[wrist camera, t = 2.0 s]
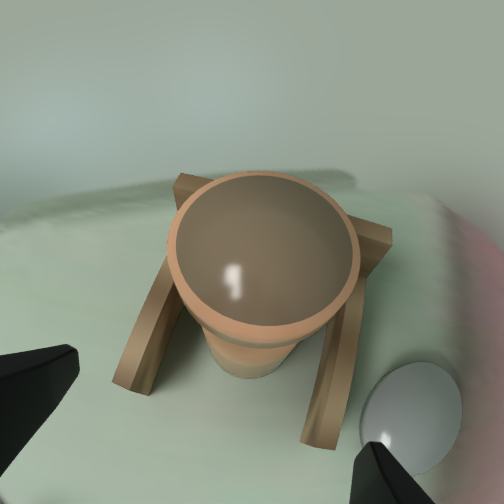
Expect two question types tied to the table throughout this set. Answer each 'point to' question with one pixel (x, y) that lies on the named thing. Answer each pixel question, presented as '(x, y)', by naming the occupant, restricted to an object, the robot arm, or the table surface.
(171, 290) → the wooden cradle holder
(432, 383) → the grey saucer
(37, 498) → the table surface
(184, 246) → the terracotta pot
